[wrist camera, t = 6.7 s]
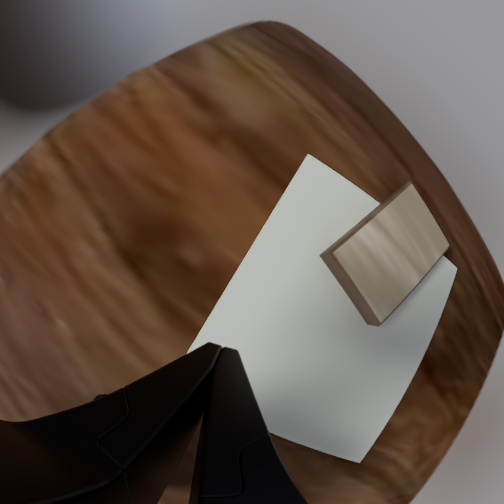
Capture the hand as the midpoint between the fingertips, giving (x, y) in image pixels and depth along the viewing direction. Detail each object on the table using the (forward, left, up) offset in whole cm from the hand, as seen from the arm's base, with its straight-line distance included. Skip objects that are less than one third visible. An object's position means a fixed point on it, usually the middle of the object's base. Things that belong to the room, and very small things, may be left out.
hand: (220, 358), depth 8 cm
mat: (+4, -8, -11) cm, 14 cm away
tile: (+6, -6, -9) cm, 13 cm away
